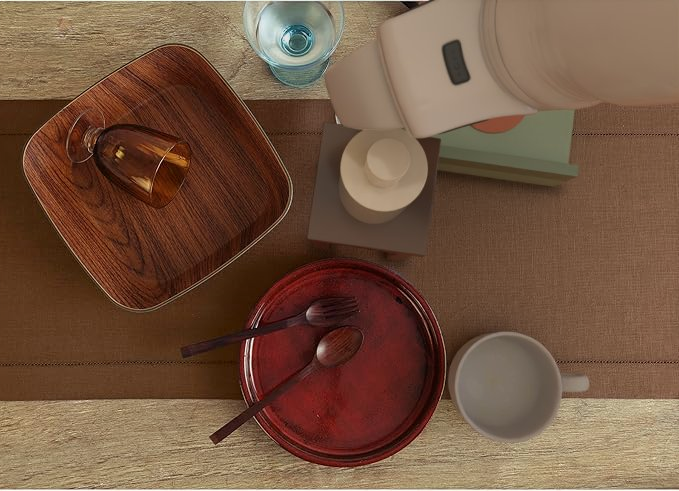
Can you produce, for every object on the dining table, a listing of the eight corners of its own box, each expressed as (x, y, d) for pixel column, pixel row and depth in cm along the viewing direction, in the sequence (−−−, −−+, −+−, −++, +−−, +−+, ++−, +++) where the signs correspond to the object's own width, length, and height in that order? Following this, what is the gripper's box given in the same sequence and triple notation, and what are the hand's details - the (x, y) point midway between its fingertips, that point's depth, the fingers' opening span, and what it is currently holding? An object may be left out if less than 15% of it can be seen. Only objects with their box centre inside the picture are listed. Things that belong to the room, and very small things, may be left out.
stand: (325, 163, 69) (323, 121, 51) (412, 175, 69) (441, 138, 51) (312, 250, 68) (306, 239, 50) (400, 263, 68) (425, 256, 50)
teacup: (433, 416, 67) (448, 434, 59) (448, 319, 68) (463, 324, 60) (557, 436, 67) (588, 456, 60) (570, 338, 68) (602, 346, 60)
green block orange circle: (412, 45, 70) (421, 19, 63) (567, 68, 70) (593, 44, 63) (396, 164, 69) (403, 151, 62) (552, 187, 69) (577, 176, 62)
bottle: (343, 147, 51) (348, 106, 39) (414, 158, 51) (441, 119, 39) (333, 218, 50) (335, 198, 38) (405, 228, 51) (428, 212, 39)
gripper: (676, -87, 34) (533, -27, 47) (354, 31, 30) (294, 61, 43) (697, 25, 36) (553, 53, 49) (394, 151, 32) (325, 145, 45)
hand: (430, 58), depth 46 cm, fingers open, 8 cm apart
